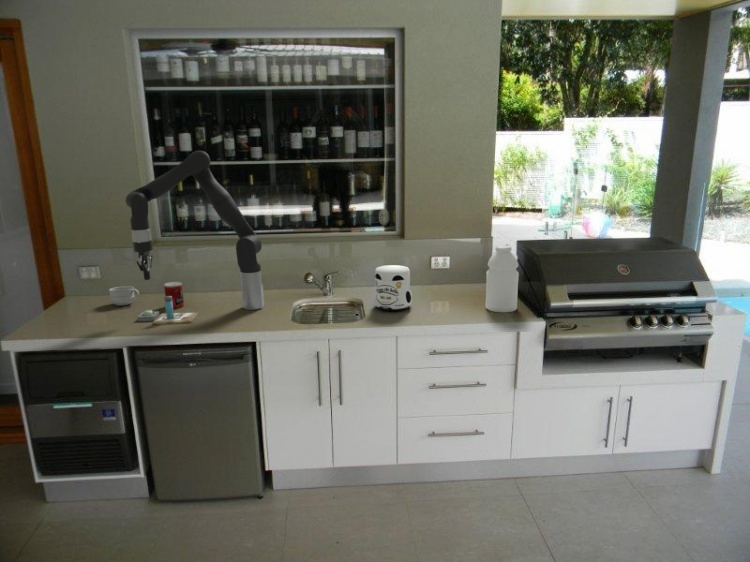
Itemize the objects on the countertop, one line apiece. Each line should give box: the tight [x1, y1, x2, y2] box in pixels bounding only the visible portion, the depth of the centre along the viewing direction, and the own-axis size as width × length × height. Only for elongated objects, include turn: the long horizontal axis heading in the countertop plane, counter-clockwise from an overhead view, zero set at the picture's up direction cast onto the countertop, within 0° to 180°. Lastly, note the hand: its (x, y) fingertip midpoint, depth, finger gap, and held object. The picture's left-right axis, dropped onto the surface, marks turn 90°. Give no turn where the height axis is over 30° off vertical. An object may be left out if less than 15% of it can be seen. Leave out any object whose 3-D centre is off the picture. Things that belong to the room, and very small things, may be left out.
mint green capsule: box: [143, 309, 154, 316], centre depth 244 cm, size 4×4×3 cm
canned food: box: [163, 281, 185, 310], centre depth 260 cm, size 8×8×11 cm
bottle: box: [484, 244, 520, 313], centre depth 246 cm, size 14×14×28 cm
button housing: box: [136, 310, 161, 322], centre depth 244 cm, size 7×7×2 cm
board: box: [152, 312, 199, 325], centre depth 243 cm, size 16×12×1 cm
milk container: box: [373, 264, 413, 312], centre depth 251 cm, size 17×17×18 cm
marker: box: [163, 296, 175, 319], centre depth 240 cm, size 3×3×9 cm
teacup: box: [108, 285, 140, 306], centre depth 265 cm, size 14×11×8 cm
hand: (147, 279), depth 240 cm, fingers closed
